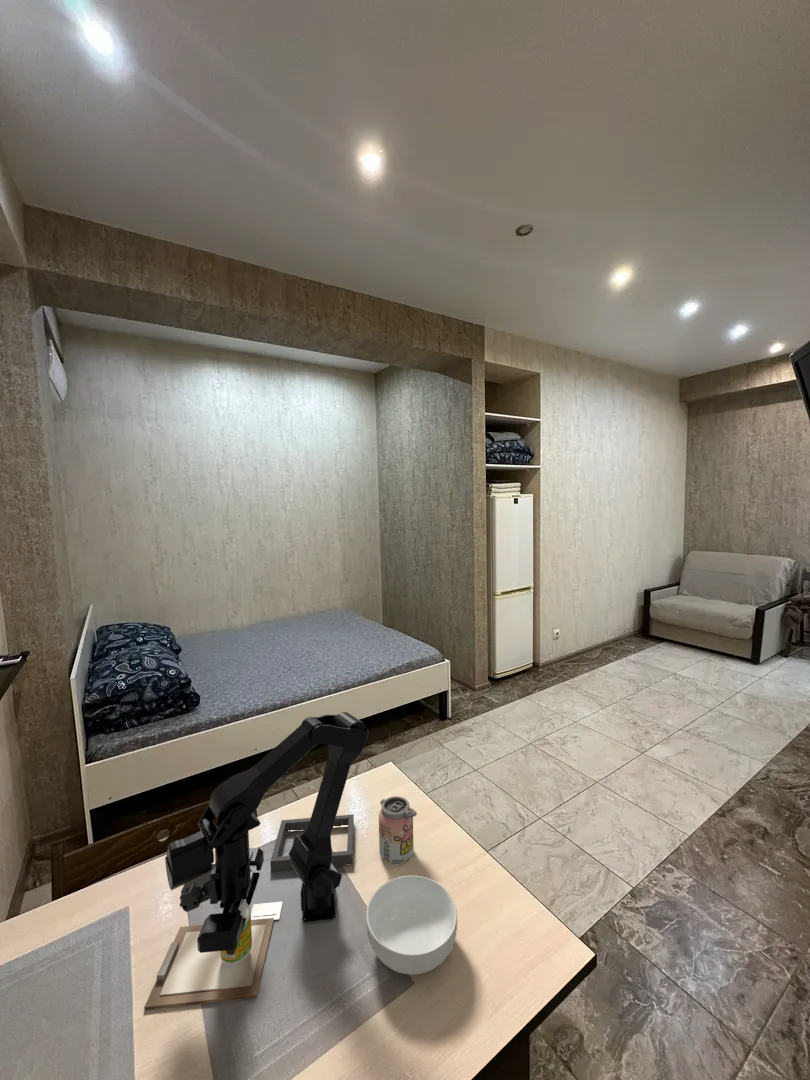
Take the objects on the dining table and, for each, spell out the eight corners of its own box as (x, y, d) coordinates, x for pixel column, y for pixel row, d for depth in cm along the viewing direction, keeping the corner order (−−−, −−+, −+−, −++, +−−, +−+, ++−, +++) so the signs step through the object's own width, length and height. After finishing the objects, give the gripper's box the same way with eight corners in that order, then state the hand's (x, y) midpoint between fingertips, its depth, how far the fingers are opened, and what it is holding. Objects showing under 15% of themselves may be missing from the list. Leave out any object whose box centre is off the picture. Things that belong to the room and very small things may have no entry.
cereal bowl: (465, 919, 87) (465, 886, 86) (445, 1010, 71) (445, 969, 71) (386, 896, 92) (385, 864, 92) (351, 975, 77) (350, 937, 76)
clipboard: (273, 920, 87) (273, 913, 87) (256, 997, 73) (256, 988, 73) (180, 929, 86) (179, 922, 86) (144, 1010, 72) (143, 1001, 72)
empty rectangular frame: (353, 823, 114) (353, 814, 114) (352, 864, 101) (351, 854, 101) (282, 829, 113) (281, 820, 113) (270, 871, 99) (270, 861, 99)
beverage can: (395, 832, 111) (394, 787, 110) (423, 847, 106) (422, 799, 105) (371, 856, 103) (370, 807, 103) (400, 873, 98) (399, 822, 98)
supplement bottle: (241, 969, 76) (238, 916, 76) (214, 962, 78) (211, 911, 77) (257, 939, 82) (255, 890, 81) (232, 934, 83) (229, 885, 82)
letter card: (282, 902, 91) (282, 901, 91) (279, 920, 88) (278, 918, 87) (253, 905, 91) (253, 903, 91) (248, 923, 87) (248, 921, 87)
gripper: (205, 822, 87) (209, 896, 88) (161, 906, 69) (166, 999, 70) (262, 818, 88) (265, 892, 89) (234, 900, 69) (238, 992, 70)
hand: (236, 938), depth 79 cm, fingers closed on supplement bottle, 5 cm apart
